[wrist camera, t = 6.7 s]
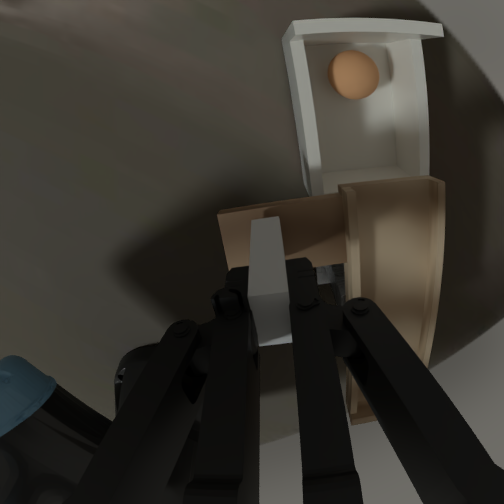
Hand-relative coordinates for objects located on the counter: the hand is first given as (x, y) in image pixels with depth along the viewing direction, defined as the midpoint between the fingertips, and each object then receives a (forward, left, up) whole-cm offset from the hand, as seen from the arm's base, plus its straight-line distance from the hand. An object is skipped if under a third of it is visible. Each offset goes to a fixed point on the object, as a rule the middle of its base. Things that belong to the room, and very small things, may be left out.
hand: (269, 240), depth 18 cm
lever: (+4, -7, -2) cm, 8 cm away
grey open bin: (+7, +6, -9) cm, 13 cm away
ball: (+7, +8, -7) cm, 13 cm away
